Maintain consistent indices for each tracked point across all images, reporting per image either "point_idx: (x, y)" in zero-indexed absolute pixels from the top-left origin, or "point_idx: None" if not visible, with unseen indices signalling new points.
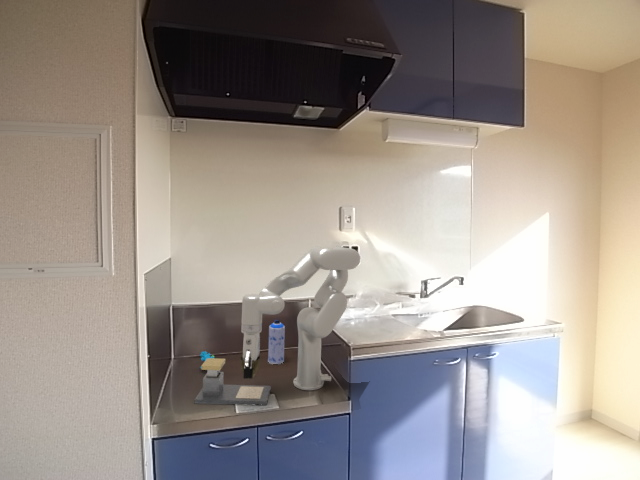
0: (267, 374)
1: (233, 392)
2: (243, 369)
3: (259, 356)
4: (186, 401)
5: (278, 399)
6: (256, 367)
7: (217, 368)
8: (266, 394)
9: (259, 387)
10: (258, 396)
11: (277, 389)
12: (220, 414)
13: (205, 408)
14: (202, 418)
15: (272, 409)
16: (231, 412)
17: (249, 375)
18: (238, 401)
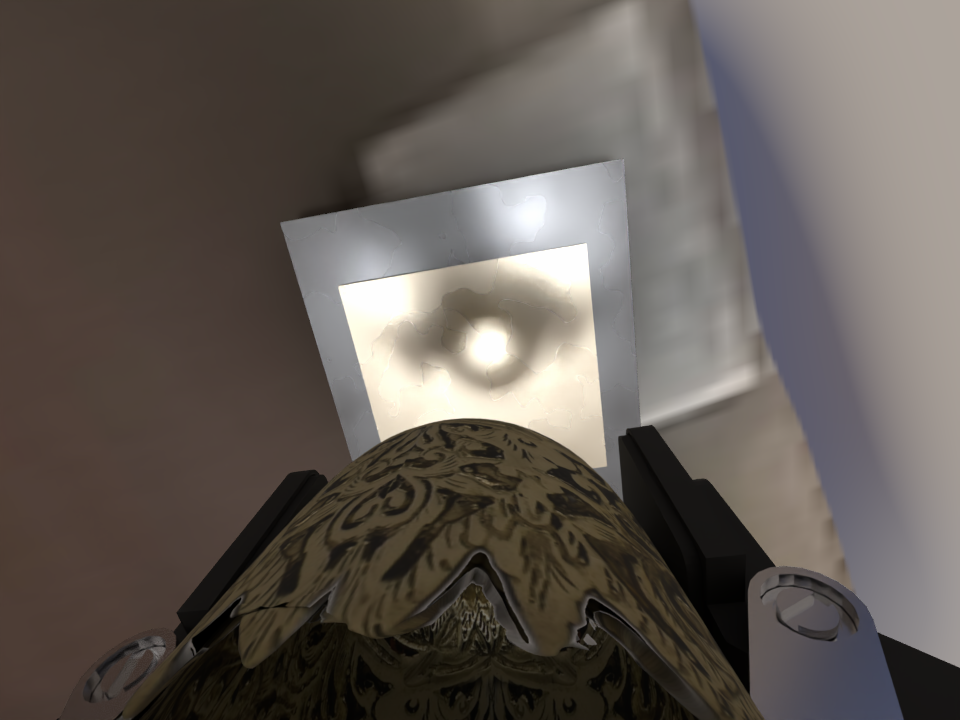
0: (24, 349)
1: None
2: (628, 669)
3: (169, 669)
4: None
5: (469, 63)
6: (570, 477)
7: None
8: (477, 205)
9: (362, 325)
10: (547, 274)
11: (268, 145)
12: (783, 483)
13: None
14: (835, 568)
15: (681, 66)
16: (752, 421)
17: (714, 493)
18: (638, 424)
